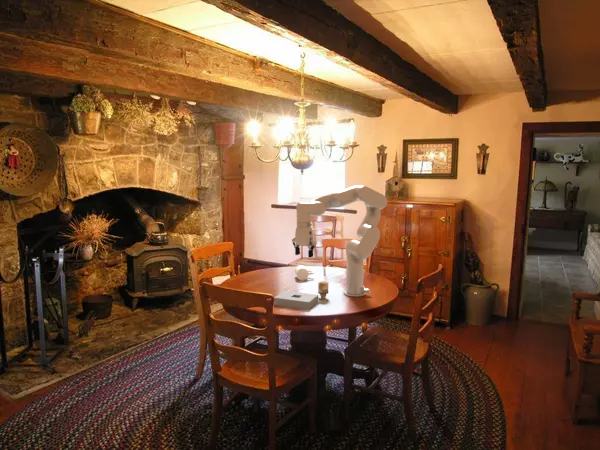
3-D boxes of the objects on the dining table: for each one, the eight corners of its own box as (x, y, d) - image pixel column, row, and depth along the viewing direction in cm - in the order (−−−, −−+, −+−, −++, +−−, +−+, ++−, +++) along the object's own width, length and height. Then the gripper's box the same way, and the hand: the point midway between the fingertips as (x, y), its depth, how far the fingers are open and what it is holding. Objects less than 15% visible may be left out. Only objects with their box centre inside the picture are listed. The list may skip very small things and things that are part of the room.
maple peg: (329, 297, 246) (329, 281, 244) (326, 300, 240) (326, 284, 239) (320, 296, 248) (320, 280, 247) (316, 298, 243) (316, 283, 241)
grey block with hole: (318, 302, 237) (318, 294, 236) (308, 309, 224) (309, 302, 223) (284, 297, 244) (284, 290, 244) (273, 304, 231) (273, 297, 231)
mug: (296, 280, 282) (296, 268, 281) (294, 276, 292) (294, 265, 291) (314, 280, 284) (314, 268, 282) (312, 276, 293) (312, 264, 292)
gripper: (320, 225, 233) (320, 256, 236) (296, 223, 245) (297, 252, 247) (311, 227, 228) (311, 259, 230) (287, 224, 239) (288, 255, 242)
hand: (304, 255), depth 239 cm, fingers open, 9 cm apart
